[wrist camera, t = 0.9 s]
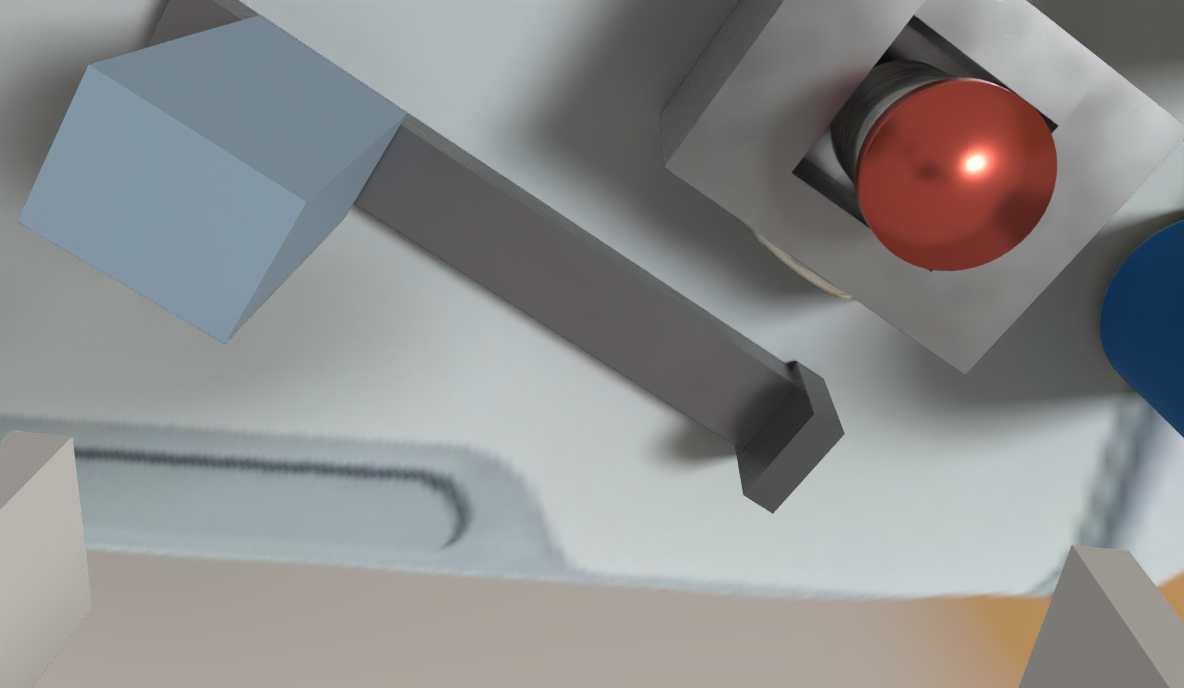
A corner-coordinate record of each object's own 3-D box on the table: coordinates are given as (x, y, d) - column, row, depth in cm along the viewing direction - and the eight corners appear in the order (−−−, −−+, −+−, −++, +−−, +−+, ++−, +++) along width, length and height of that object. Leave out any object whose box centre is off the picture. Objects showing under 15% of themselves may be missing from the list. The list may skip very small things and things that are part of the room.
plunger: (788, 147, 28) (822, 204, 23) (889, 15, 27) (951, 42, 21) (905, 231, 29) (965, 305, 24) (1010, 107, 27) (1099, 156, 22)
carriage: (201, 128, 31) (17, 222, 22) (259, 15, 30) (88, 64, 21) (344, 218, 32) (224, 344, 23) (407, 113, 31) (306, 202, 21)
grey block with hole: (652, 125, 32) (654, 180, 26) (821, -117, 29) (872, -122, 23) (896, 295, 34) (955, 385, 28) (1078, 84, 31) (1191, 131, 25)
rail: (155, 66, 32) (93, 87, 29) (203, -34, 31) (145, -25, 27) (760, 452, 37) (773, 513, 33) (823, 379, 35) (844, 433, 32)
